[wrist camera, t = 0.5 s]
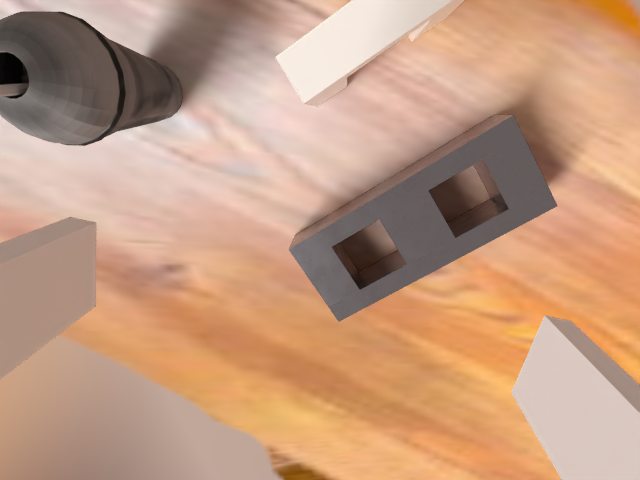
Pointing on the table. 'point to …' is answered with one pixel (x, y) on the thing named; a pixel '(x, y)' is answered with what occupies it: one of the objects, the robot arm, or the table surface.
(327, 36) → the white arch
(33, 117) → the beverage cup
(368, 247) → the table surface
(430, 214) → the cinder block
